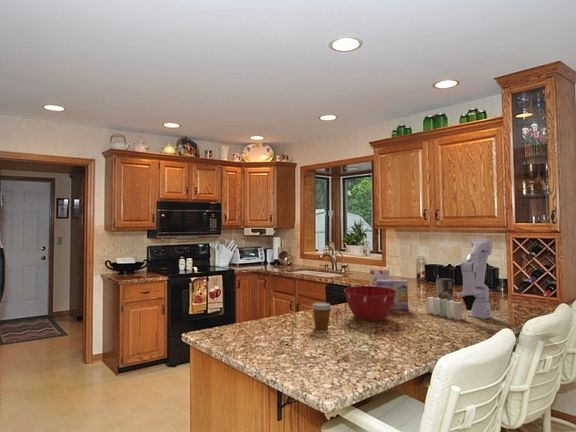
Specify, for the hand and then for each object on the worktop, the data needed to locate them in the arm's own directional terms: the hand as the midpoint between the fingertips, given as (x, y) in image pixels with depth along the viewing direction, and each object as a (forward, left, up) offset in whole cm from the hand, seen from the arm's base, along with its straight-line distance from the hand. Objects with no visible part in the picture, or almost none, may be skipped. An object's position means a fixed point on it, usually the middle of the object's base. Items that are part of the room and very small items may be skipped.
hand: (469, 309), depth 212 cm
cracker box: (+69, -5, -6) cm, 70 cm away
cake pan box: (+44, +11, -6) cm, 46 cm away
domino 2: (+20, 0, -6) cm, 21 cm away
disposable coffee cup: (+32, +74, -6) cm, 81 cm away
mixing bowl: (+34, +39, -6) cm, 52 cm away
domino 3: (+16, 0, -6) cm, 17 cm away
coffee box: (+36, -29, -6) cm, 47 cm away
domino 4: (+11, 0, -6) cm, 13 cm away
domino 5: (+7, 0, -6) cm, 9 cm away
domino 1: (+25, 0, -6) cm, 25 cm away
